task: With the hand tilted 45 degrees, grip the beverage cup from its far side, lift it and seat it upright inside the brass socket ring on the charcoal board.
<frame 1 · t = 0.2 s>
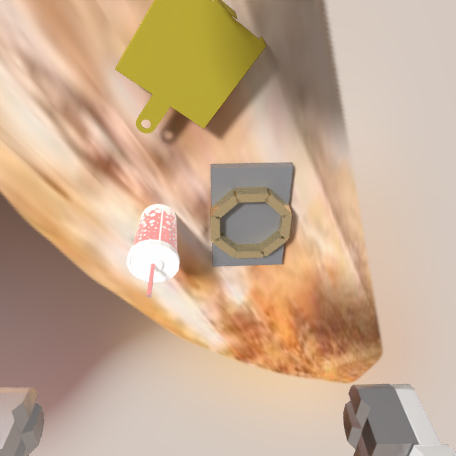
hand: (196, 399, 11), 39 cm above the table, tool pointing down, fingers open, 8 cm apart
bracket: (181, 60, 44), on the table
beverage cup: (159, 217, 56), on the table
board: (248, 216, 56), on the table
socket: (249, 220, 55), resting on board
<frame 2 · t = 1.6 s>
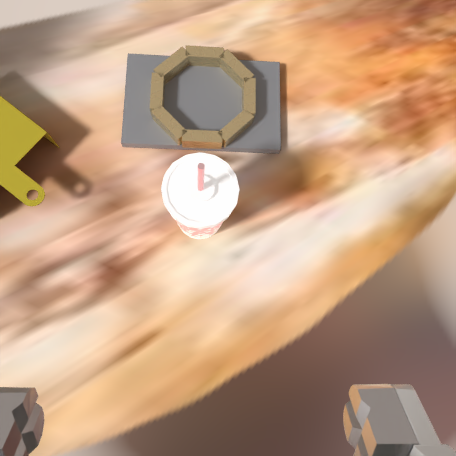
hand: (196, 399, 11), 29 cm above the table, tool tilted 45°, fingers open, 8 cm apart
bracket: (0, 168, 42), on the table
beverage cup: (199, 216, 41), on the table
board: (203, 105, 44), on the table
socket: (203, 101, 43), resting on board
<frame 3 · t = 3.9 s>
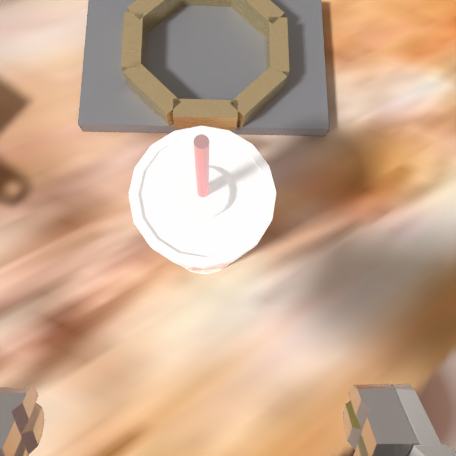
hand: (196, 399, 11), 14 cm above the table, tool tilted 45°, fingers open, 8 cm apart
beverage cup: (204, 238, 26), on the table
board: (206, 66, 29), on the table
socket: (206, 57, 28), resting on board
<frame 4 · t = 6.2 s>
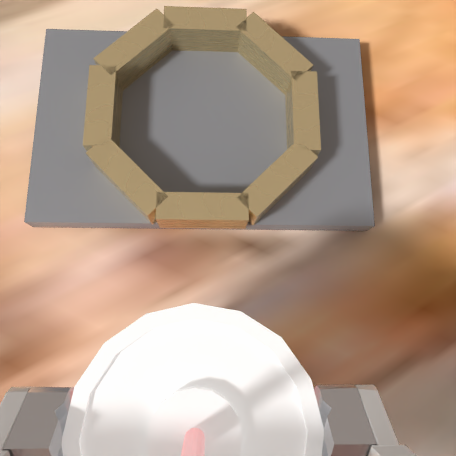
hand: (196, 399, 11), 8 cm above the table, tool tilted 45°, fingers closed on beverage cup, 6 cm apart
beverage cup: (201, 382, 19), on the table, touching gripper
board: (204, 133, 21), on the table
socket: (204, 123, 20), resting on board
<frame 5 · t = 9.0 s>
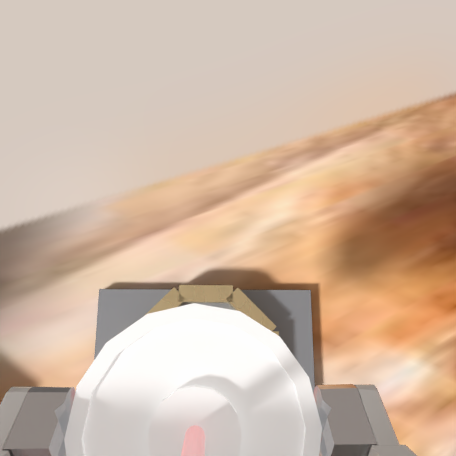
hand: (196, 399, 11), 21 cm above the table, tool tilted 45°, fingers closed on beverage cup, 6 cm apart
beverage cup: (201, 381, 19), point 13 cm above the table, touching gripper
board: (205, 357, 31), on the table
socket: (205, 358, 30), resting on board
when the fingers open (10 cm above the table, at t = 12.2 s): beverage cup stays where it is, resting on board.
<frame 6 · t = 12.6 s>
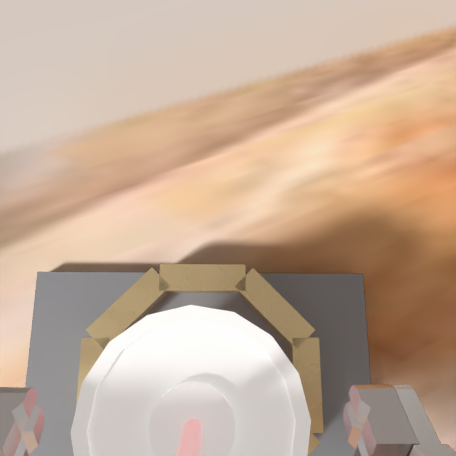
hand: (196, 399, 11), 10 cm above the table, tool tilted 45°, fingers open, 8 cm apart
beverage cup: (199, 379, 20), point 1 cm above the table, touching board
board: (201, 377, 20), on the table
socket: (201, 380, 19), resting on board
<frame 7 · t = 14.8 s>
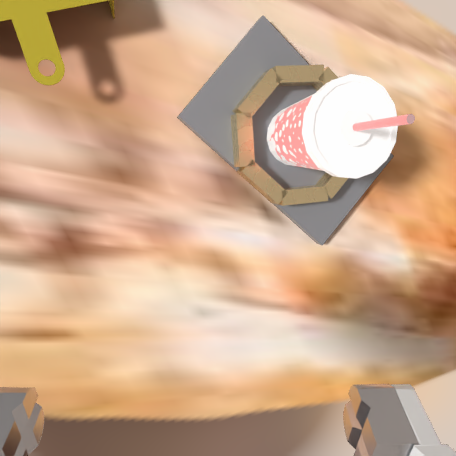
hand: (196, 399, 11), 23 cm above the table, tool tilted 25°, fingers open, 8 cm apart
beverage cup: (292, 136, 34), point 1 cm above the table, touching board
board: (289, 138, 34), on the table
socket: (294, 137, 33), resting on board
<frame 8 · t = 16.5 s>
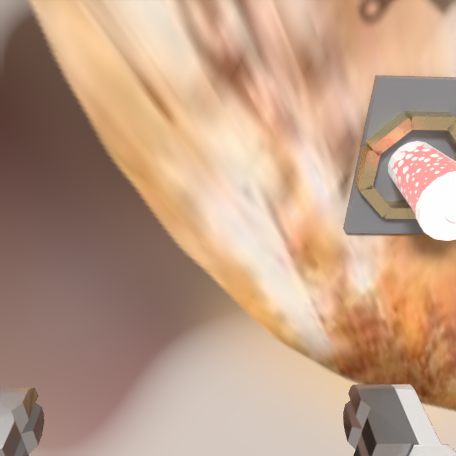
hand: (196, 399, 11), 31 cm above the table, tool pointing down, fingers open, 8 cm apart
beverage cup: (410, 162, 41), point 1 cm above the table, touching board
board: (407, 160, 41), on the table
socket: (411, 164, 40), resting on board
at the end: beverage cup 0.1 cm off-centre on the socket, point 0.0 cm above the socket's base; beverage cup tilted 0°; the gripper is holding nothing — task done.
